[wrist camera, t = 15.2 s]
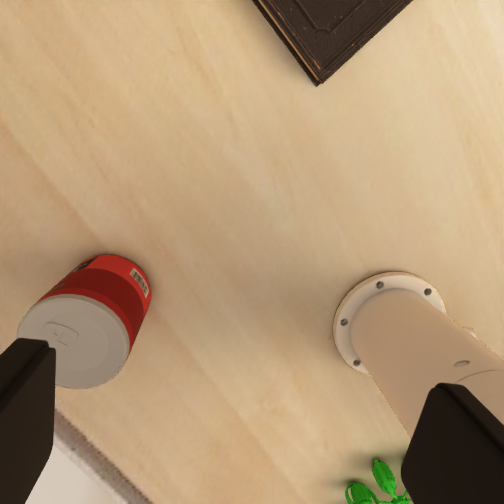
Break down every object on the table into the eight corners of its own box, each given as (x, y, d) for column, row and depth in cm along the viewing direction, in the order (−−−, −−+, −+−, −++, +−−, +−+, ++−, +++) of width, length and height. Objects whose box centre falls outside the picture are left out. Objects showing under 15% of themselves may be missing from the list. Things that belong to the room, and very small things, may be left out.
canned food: (84, 240, 36) (29, 282, 25) (163, 268, 37) (142, 318, 27) (63, 307, 38) (3, 372, 27) (139, 331, 39) (110, 402, 29)
